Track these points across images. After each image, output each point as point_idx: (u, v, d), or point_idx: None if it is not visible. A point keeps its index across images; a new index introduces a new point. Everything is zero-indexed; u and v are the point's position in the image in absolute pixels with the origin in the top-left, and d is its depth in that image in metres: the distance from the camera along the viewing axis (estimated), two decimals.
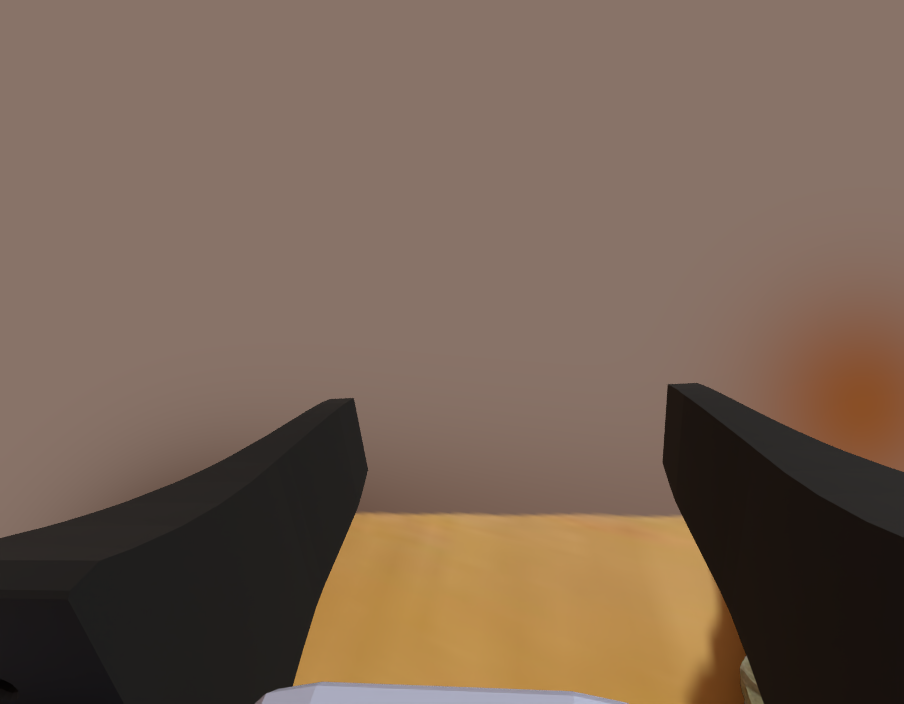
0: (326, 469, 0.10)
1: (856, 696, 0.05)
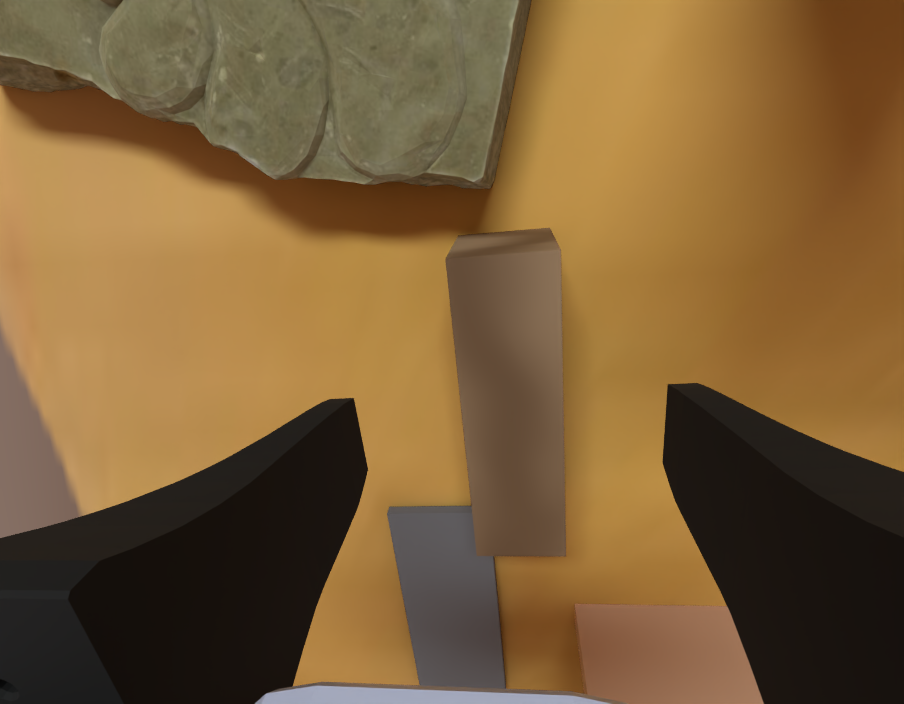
0: (327, 469, 0.10)
1: (856, 696, 0.05)
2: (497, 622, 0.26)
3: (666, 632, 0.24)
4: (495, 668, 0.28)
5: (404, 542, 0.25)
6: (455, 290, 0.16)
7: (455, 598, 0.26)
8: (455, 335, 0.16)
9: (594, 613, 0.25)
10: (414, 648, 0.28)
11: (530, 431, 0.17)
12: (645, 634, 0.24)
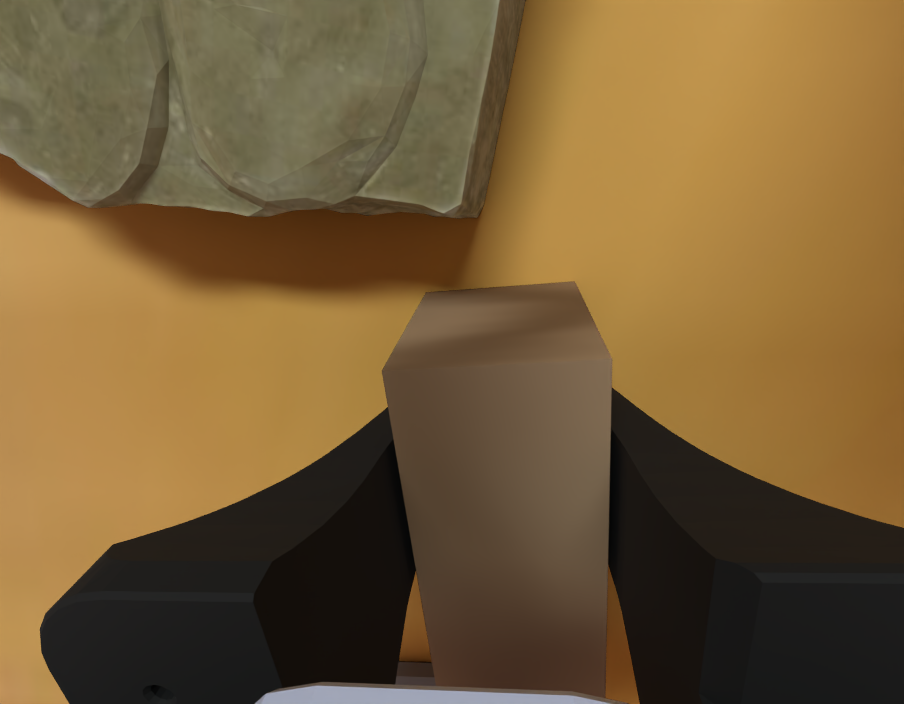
0: None
1: (678, 690, 0.05)
2: None
3: None
4: None
5: None
6: (404, 426, 0.08)
7: None
8: (407, 501, 0.09)
9: None
10: None
11: (546, 652, 0.10)
12: None
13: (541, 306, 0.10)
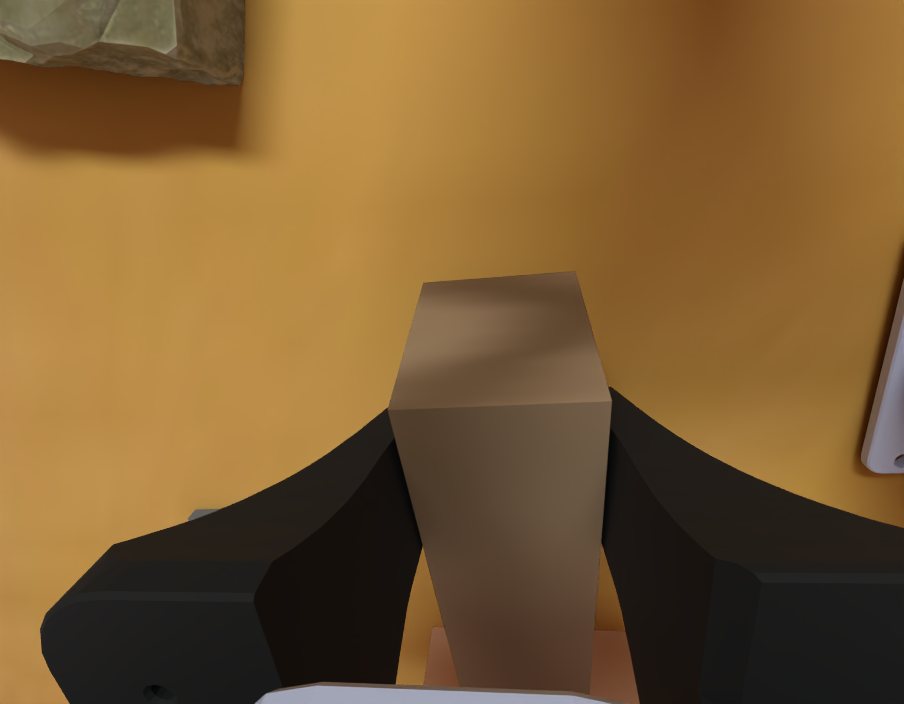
0: None
1: (678, 689, 0.05)
2: None
3: None
4: None
5: None
6: (411, 454, 0.09)
7: None
8: (417, 511, 0.09)
9: None
10: None
11: (543, 615, 0.11)
12: None
13: (541, 312, 0.10)
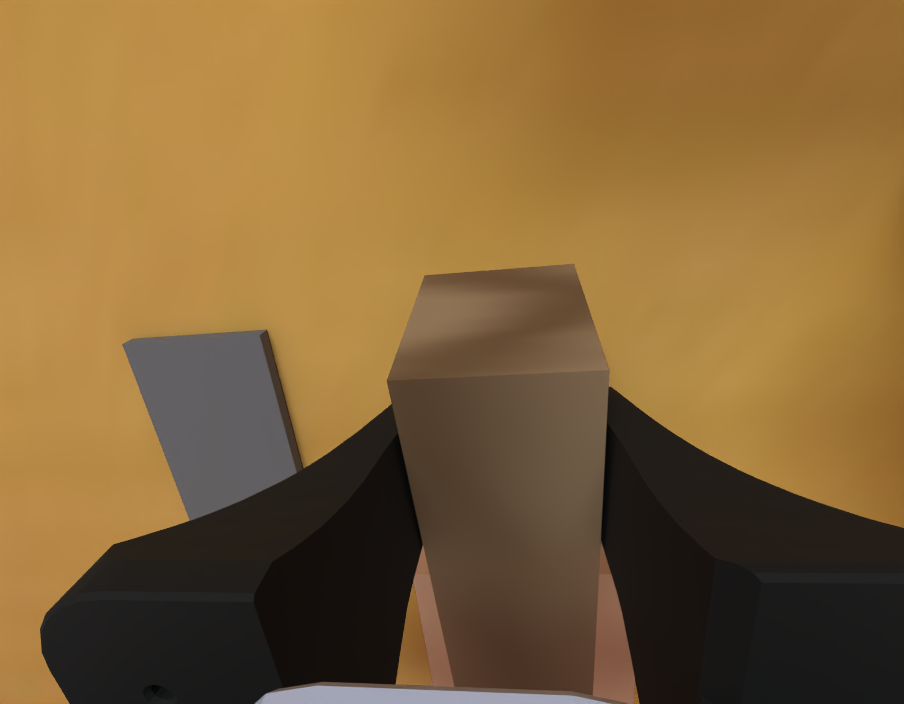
0: None
1: (677, 689, 0.05)
2: None
3: None
4: None
5: (156, 391, 0.17)
6: (409, 429, 0.09)
7: (242, 478, 0.19)
8: (414, 493, 0.09)
9: None
10: None
11: (543, 612, 0.11)
12: None
13: (540, 297, 0.10)
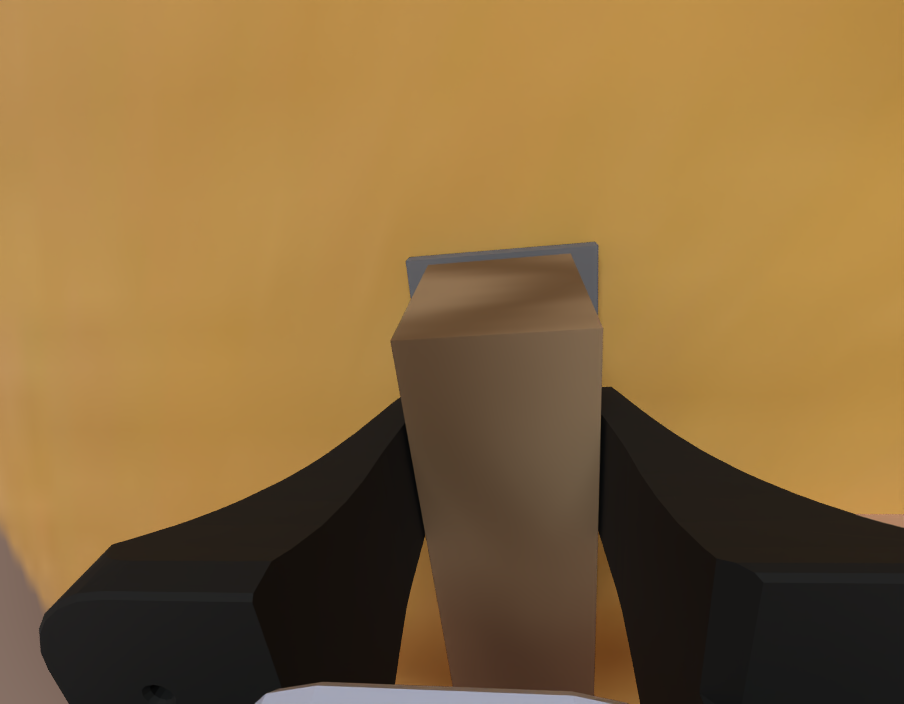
0: (411, 467, 0.10)
1: (679, 689, 0.05)
2: None
3: None
4: None
5: None
6: (411, 392, 0.09)
7: None
8: (415, 460, 0.09)
9: None
10: None
11: (542, 594, 0.11)
12: None
13: (538, 278, 0.10)
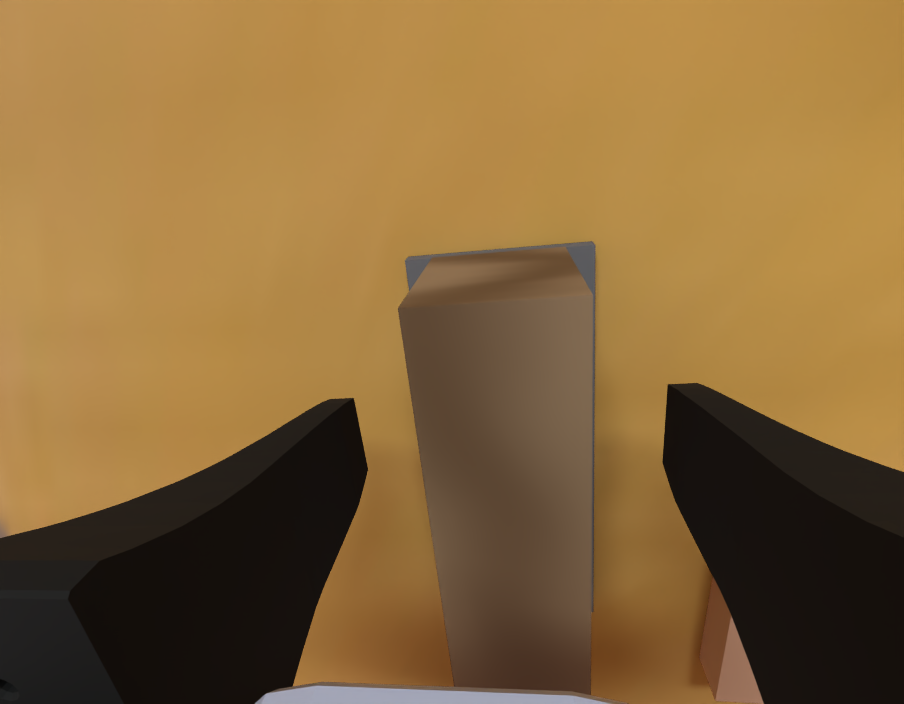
0: (326, 469, 0.10)
1: (856, 696, 0.05)
2: None
3: None
4: None
5: None
6: (416, 358, 0.09)
7: None
8: (418, 427, 0.10)
9: None
10: None
11: (539, 566, 0.11)
12: None
13: (535, 263, 0.11)
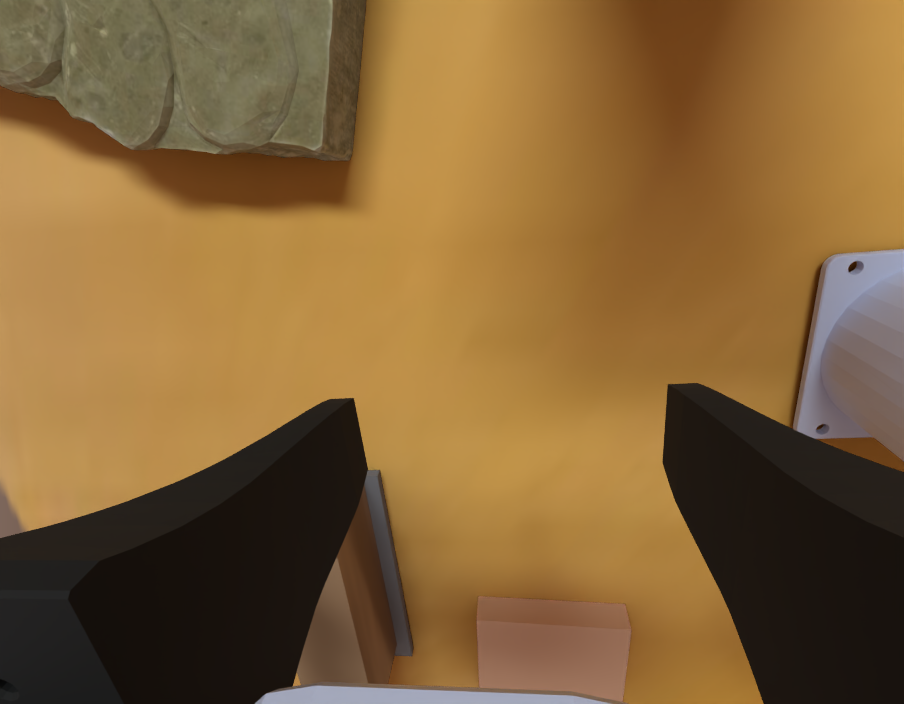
0: (326, 470, 0.10)
1: (856, 696, 0.05)
2: (396, 585, 0.27)
3: (554, 646, 0.27)
4: (400, 631, 0.29)
5: None
6: None
7: None
8: None
9: (494, 629, 0.27)
10: None
11: (335, 646, 0.23)
12: (535, 646, 0.27)
13: None
